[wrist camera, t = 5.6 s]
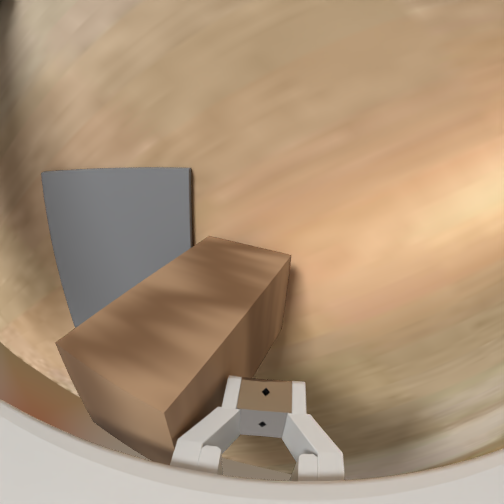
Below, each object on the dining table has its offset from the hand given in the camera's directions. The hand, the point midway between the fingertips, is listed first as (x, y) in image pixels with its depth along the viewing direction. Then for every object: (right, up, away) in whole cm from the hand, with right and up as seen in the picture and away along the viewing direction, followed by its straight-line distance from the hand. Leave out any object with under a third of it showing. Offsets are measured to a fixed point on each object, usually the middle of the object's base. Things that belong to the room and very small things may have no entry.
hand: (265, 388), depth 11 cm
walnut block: (-1, +4, +7) cm, 8 cm away
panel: (-10, +5, +8) cm, 14 cm away
